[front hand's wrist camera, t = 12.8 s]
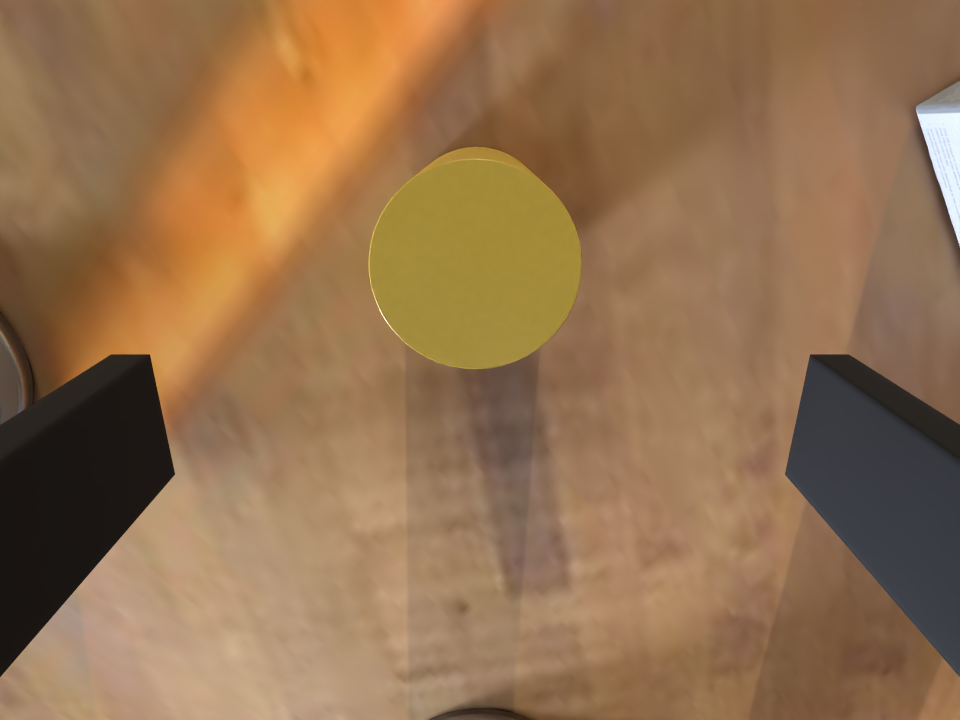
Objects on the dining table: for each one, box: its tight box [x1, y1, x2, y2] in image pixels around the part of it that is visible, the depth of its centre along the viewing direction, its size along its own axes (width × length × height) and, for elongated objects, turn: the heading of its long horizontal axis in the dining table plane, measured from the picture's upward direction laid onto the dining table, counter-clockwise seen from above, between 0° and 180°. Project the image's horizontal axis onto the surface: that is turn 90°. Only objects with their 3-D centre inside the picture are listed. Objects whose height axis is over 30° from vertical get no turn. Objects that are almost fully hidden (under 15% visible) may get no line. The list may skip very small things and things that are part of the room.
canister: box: [369, 147, 582, 369], centre depth 31 cm, size 9×9×12 cm
